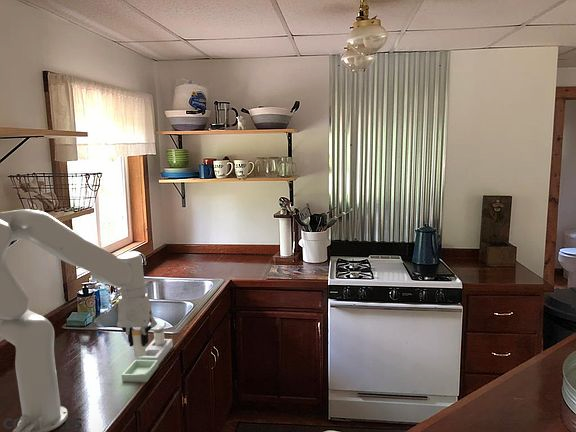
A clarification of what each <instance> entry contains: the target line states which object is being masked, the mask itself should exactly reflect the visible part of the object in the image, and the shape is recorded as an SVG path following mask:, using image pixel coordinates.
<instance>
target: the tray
mask: <svg viewBox="0 0 576 432" xmlns="http://www.w3.org/2000/svg"><path fill="white" fill-rule="evenodd" d="M158 368H159V365H158V360H138V359H135V360H134V361H132V363H131V364H130V365H128V367H127V368H126V369H125V370H124V371H123V372H122V374H121V380H122V383H148V382H149V380H150V378H151V377H152V376H153V375H154V373H156V371H157V370H158Z"/></svg>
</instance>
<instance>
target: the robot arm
mask: <svg viewBox="0 0 576 432" xmlns="http://www.w3.org/2000/svg"><path fill="white" fill-rule="evenodd" d="M18 240H27V241H29V242H31V243H33V244H34V245H36V246H37V247H39V248H40V249H43V250H45V251H46V252H48V253H50V254H51V255H53V256H54V257H56V258H57V259H59V260H60V261H63V262H65V263H67V264H69V265H71V266H74V267H76V268H81V269H82V270H85V271H87V272H90V276H91V278H92V279H93V280H94V281H96V282H99V283H102V284H104V285H108V286H112V287H115V288H117V289H116V292H117V294H118V293H119V294H120V296H119V297H118V304H117V319H118V320H117V323H116V325H115V326H116V327H118V328H120V329H121V330H122V331H123V332H124V333H125V335H126V336H127V341H128V343H129V347H134V346H133V338H132V331H131V330H132V329H133V328H135V327H141V330H142V335H141V341H142V346H145V347H146V346H147V344H148V343H149V332H150V330H152V329H153V328H154V327H156V326H158V322H157V321H156V319H155V318H154V316H153V315H154V314H153V310H152V305H151V301H150V296H149V295H148V293H146V285H145V274H144V265H143V258H142V255H141V254H139V253H136V252H135V253H125V254H122V255H120V256H117V255H115V254H113V253H112V252H110V251H109V250H107V249H105V248H103V247H101V246H99V245H98V244H96V243H95V242H92V241H91V240H89V239H87V238H85V237H83V236H82V235H80V234H79V233H77V232H76V231H74V230H73V229H71V228H70V227H68V226H67V225H65V224H64V223H62V222H61V221H59V219H56V218H55V217H53V216H52V215H50V214H49V213H47V212H45V211H42V210H37V209H29V208H24V209H23V208H21V209H15V210H9V211H1V212H0V337H1V338H2V339H4V340H5V341H7V342H9V343H10V344H12V345H13V346H14V347H15V361H14V366H15V373H16V381H17V386H18V394H19V401H20V408H21V409H20V410H21V415H20V419H19V421H18V422H17V424H16V425H17V426H16V427H15V428H14V429H13V430H12V432H51V431H53V430H55V429H56V428H58V427H60V426H61V425H63V423H64V422H66V421H67V419H68V418H69V417H68V416H69V415H68V412H69V411H68V409H67V408H66V407H65V406H61V405H62V404H61V397H60V391H59V384H58V383H59V382H58V376H57V369H56V368H57V367H56V359H55V348H54V347H55V329H54V326H53V324H52V323H51V321H50V320H49V319H48V318H46V317H44V315H41V314H38V313H36V312H34V311H31V310H30V309H29V308H30V298H29V295H28V293H27V291H26V290H25V288H24V287H23V286H22V285H21V283H20V282H19V281H18V279H17V277H16V276H15V274H13V273H14V272H12V270H11V268H10V267H9V265H8V263H7V260H6V254H7V252H8V251H7V250H8V248H9V246H10V245H11V243H12V242H15V241H18Z"/></svg>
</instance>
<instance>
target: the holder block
mask: <svg viewBox="0 0 576 432" xmlns="http://www.w3.org/2000/svg"><path fill="white" fill-rule="evenodd" d="M173 345H174V343H173V338H165V345H164V346H155V340H154V339H152V341H151V342H150V343H149V344H148V345H146V347H145V350H146V354H145V355H144V356H142V357H137V360H158V366H159V365H160V363H162V361H163V360H164V359H165V357H166V356H167V354H169V352H170V351H171V350H172V348H174V347H173Z"/></svg>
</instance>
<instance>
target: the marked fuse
mask: <svg viewBox="0 0 576 432" xmlns="http://www.w3.org/2000/svg"><path fill="white" fill-rule="evenodd" d="M131 331H132V338H133V346H132V347H133V353H134V357H136V358H138V357H142V356H144V355H145V354H146V350H145V349H146V345H145V346H142V341H141V335H142V330H141V327H133V329H132V330H131Z"/></svg>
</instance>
